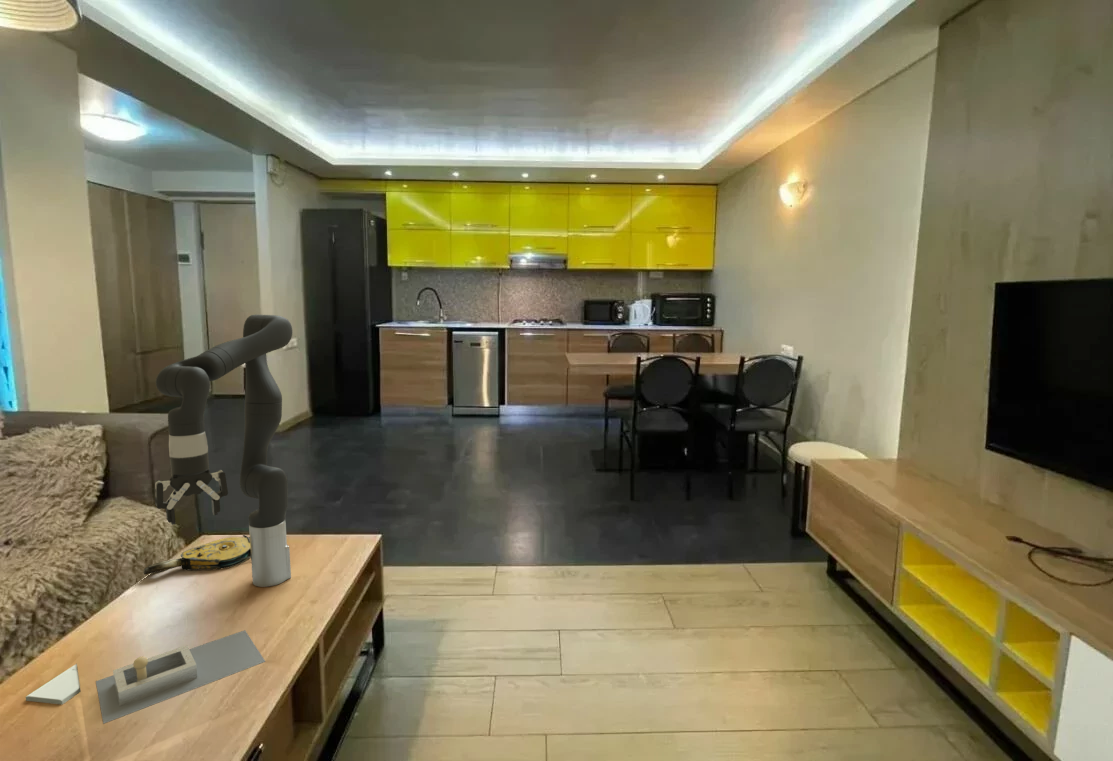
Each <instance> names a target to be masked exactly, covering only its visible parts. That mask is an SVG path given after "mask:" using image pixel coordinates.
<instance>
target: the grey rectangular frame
mask: <svg viewBox="0 0 1113 761" xmlns="http://www.w3.org/2000/svg"><path fill="white" fill-rule="evenodd" d="M189 649H190V648H189V646H188V645H187V644H186V645H184V646H181V647H178V648H175V649H172V650H169V651H166V652H163V653H160V654H158V655H154V656H151V657H148V658H147V659H148V664H147V665H146V672H147V676H149V675H152V674H154V673H157V672H160V671H163V670H166V669H169V668H171V667H174V666H177V665H180V664H182V666H180V667H177V668H174V669H171V670H168V671H166V672H163V673H160V674H157V675H154V676H152V677H149V678H146V679H143V680H140V681H138V682H135V683H132V684H129V685H127V684H126V683H129V682H132V681H135V680H137V672H136V669H135V668H134V666H133V663H131V664H127V665H125V666H122V667H119V668H116V669H113V670H112V672H113V673H112V675H114V684H115V688H116V693H117V697H118V701H119V705H120V707H121V706H123V705H126V704H129V703H131V702H134V701H137V700H139V699H142V698H145V697H147V696H150V695H153V694H155V693H158V692H161V691H163V690H166V689H169V688H171V687H174V686H177V685H179V684H182V683H185V682H187V681H190V680H193V679H195V678H197V667H196V663H195V661H194V659H193V656H192V654H191V652H190V650H189Z"/></svg>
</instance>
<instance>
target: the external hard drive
mask: <svg viewBox="0 0 1113 761" xmlns="http://www.w3.org/2000/svg"><path fill="white" fill-rule="evenodd" d="M81 691H82V690H81V683H80V675H79V670H78V663H75V664H74V665H72V666H71V667H69V668H68V669H65V671H63V672H61V673H59V674H58V675H56V676H55V677H54V678H52V679H51V680H49V681H48V682H46V683H44V684H43V685H42V686H40V687H38V688H37V689H35V690H34V691H32V692H30V694H28V695H26V696H25V701H26V702H37V703H44V704H55V705H64V704H66V702H68V701H69V700H71V699H72V698H74V697H75V696H76V695H78V694H79V693H81Z"/></svg>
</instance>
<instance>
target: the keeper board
mask: <svg viewBox="0 0 1113 761" xmlns="http://www.w3.org/2000/svg"><path fill="white" fill-rule="evenodd" d="M189 650H190V652H191V654H192V656H193V659H194V661H195V663H196V667H197V678H195V679H193V680H190V681H187V682H185V683H182V684H179V685H177V686H174V687H171V688H169V689H166V690H163V691H161V692H158V693H155V694H153V695H150V696H147V697H145V698H142V699H139V700H137V701H134V702H131V703H129V704H126V705H123V706H121V707H120V705H119V701H118V697H117V693H116V688H115V684H114V675H113V674H112V675H110V676H107V677H105V678H102V679H98V680H96V681H95V684H96V690H97V695H98V701H99V706H100V711H101V718H102V722H103V723H102V724H107V723H109V722H112V721H115V720H117V719H119V718H122V717H125V716H128V715H130V714H133V713H135V712H138V711H140V710H141V711H142V710H143V709H145V708H148V707H151V706H153V705H156V704H158V703H161V702H163V701H164V702H165V701H166V700H169V699H172V698H175V697H177V696H179V695H182V694H185V693H187V692H191V691H193V690H196V689H198V688H200V687H203V686H206V685H208V684H211V683H214V682H216V681H218V680H221V679H224V678H226V677H229V676H232V675H234V674H236V673H237V674H238V673H240V672H243V671H244V670H247V669H249V668H252V667H255V666H257V665H260V664H263V663H265V662H266V660H265V659H264V657H263V656H262V654H261V652H260V651H259V649H258V648H257V646H256V644H255V643H254V641H253V640H252V638H251V637H250V635H249V634H248V632H247V631H246V630H245V629H244V630H241V631H239V632H235V633H232V634H229V635H226V636H224V637H221V638H217V639H215V640H212V641H209V642H206V643H203V644H200V645H198V646H195V647H192V648H189ZM132 664H133V666H134V668H135V669H136V672H137V680H135V681H132V682H129V683H126V684H127V685H129V684H132V683H135V682H138V681H140V680H143V679H146V678H149V677H152V676H154V675H157V674H160V673H163V672H166V671H168V670H171V669H174V668H177V667H180V666H182V664H180V665H177V666H174V667H171V668H169V669H166V670H163V671H160V672H157V673H154V674H152V675H149V676H147V672H146V665H147V664H148V658H147V657H146V656H144V655H143V656H139V657H136V659H134V661H133V663H132Z"/></svg>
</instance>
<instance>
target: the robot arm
mask: <svg viewBox="0 0 1113 761" xmlns="http://www.w3.org/2000/svg"><path fill="white" fill-rule="evenodd" d="M244 321H245V322H244V324H243V328H242V337H241V338H237V339H233V340H229V341H226V342H222V343H219V344H217V345H214V346H213V347H211V348H209V349H207V350H205V351H203V352H202V353H200V354H198V355H196V356H193V357H190V358H186V359H183V360H180V361H176V362H174V363H173V362H172V363H171V364H169V365H167V366H165V367H164V368H163V369H161V370H160V371H159V372H158V374H157V376H156V379H155V386H156V388H157V390H158V392H159V393H160V394H162V395H164V396H166V397H172V398H175V397H176V398H182V400H181V405H180V406H179V407H178V406H177V407H174V408H172V409H170V410H169V411H168V414H167V424H168V434H169V435H168V451H169V454H168V455H169V465H170V475H171V476H170V478H169V480H163V481H162V480H156V481H155V482H154V500H155V501H154V504H155V506H156V508H157V509H161V510H162V509H165V515H166V521H167V522H168V523H170V524H171V525H176V515H175V514H176V512H175V508H174V507H175V505H176V504H177V503H178V501H180V500H181V498H182V497H183V496H185V497H189V496H191V495H192V496H193V495H201V493H203V492H205V493H206V494H207V495H208V496H210V497H211V499H210V501H211V512H212V515H213V516H218V513H220V512H221V503H220V501H221V498H223V497H226V496H228V494H229V492H228V490H229V489H228V485H227V484H228V483H227V477H226V473H225V472H224V471H223V470H222V469H219V470H217V471H216V472H210V463H209V462H210V461H209V445H208V438H207V435H206V427H205V426H206V425H205V416H204V415H205V410H206V407H207V401H208V397H209V393H210V389H211V388H210V387H211V382H214V381H217V380H218V379H220V378H223V377H224V376H226V375H227V374H229V373H230V372H232V371H233V370H235V369H237V368H238V367H240V366H242V365H244V364H245V365H244V366H245V397H244V432H243V433H244V434H243V436H244V438H243V451H242V452H243V453H242V458H241V465H240V467H241V468H240V473H239V474H240V475H239V487H240V491H241V492H242V494H243V495H244V496H246V497H248V498H251V499H258V509H255V510H253V511H251V512H250V513H249V515H248V530H249V531H248V532H249V537H250V548H251V558H250V561H251V562H250V563H251V578H252V584H253V585H254V586H255V587H260V588H261V587H262V588H266V587H267V588H268V587H273V586H277V585H279V584H282V583H284V582H285V581H287V580H289V579H291V578H292V572H291V568H292V567H291V553H290V552H291V551H290V546H289V545H288V543H287V542H288V541H287V523H286V514H287V511H288V505H289V503H288V502H289V499H288V498H289V496H288V495H289V493H288V492H289V488H288V487H289V486H288V478H287V477H288V476H287V474H286V472H285V470H283V469H282V468H280V467H275V466H271V465H270V466H269V465H268V448H269V445H270V443H271V441H272V439H273V437H274V435H275V434H276V432H277V430H278V428H279V426H280V424H281V421H282V415H283V414H282V412H283V395H282V391H281V390H280V387H279V385H278V384H277V382H276V380H275V378H274V377H273V375H272V372H271V371H270V369H269V366H268V360H267V359H268V358H267V354H269V353H271V352H273V351H274V352H275V351H277V350H280V349H283V348H284V347H286V346H288V344H289V343H290V342H291V340H292V337H293V325H292V324H291V322H290V321H289V319H287V318H286V317H284V316H281V315H274V314H251V315H249V316H248V317H247V318H246V319H245V320H244ZM213 478H214V480H215V481H216V482H218V487H219V490H218V491H215V490H213V488H211V486H209V484H210V482H211V481H212V480H213ZM169 486H170V487H171V488H172V489H173V491H172V493H171V494H169V497H168V499H167V500H166V501H164V491H166V490H167V489H168V487H169Z"/></svg>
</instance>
